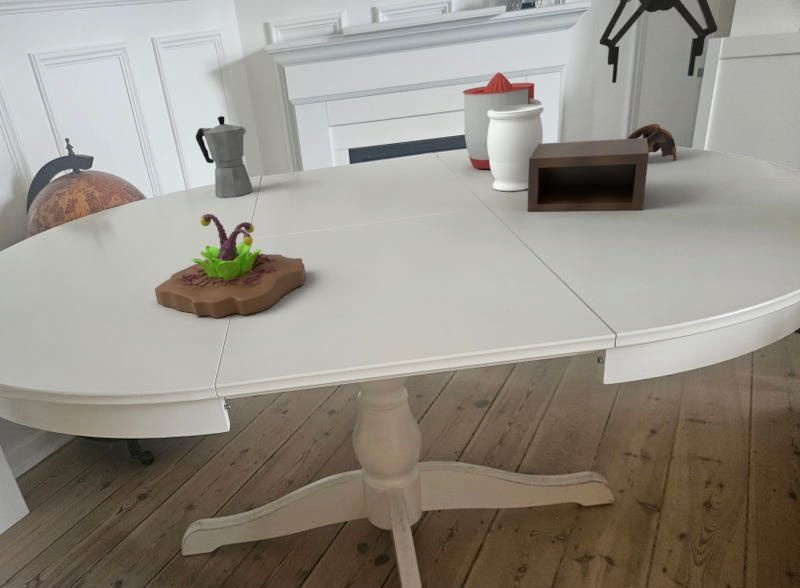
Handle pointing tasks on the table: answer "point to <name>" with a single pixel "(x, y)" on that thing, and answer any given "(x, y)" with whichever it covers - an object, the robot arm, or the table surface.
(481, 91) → the citrus juicer
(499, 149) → the jar
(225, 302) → the plant
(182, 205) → the table surface
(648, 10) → the robot arm
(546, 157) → the stand
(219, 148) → the coffeepot
